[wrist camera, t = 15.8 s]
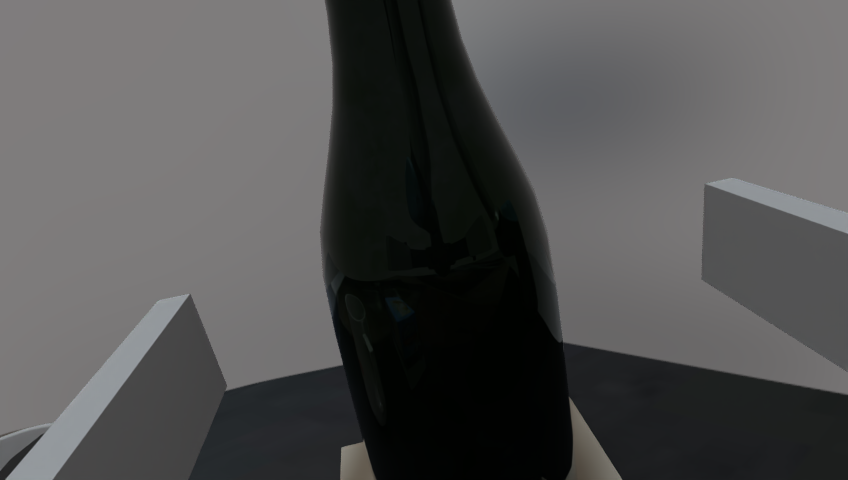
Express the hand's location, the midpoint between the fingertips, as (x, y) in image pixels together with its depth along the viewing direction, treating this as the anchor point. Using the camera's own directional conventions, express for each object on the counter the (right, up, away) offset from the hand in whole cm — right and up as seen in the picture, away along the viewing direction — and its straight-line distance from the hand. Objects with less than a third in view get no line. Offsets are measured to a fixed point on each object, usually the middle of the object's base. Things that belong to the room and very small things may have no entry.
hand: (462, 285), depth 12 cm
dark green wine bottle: (+2, -14, +15) cm, 20 cm away
